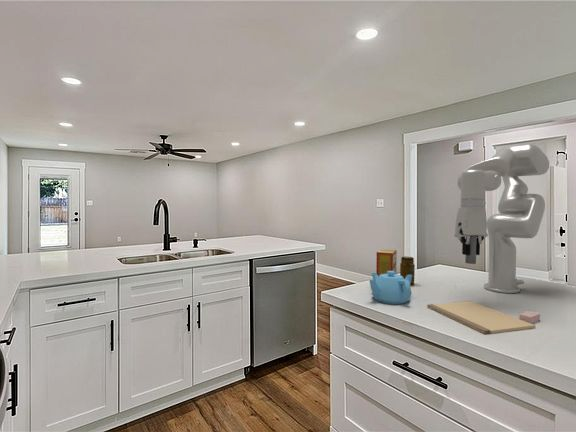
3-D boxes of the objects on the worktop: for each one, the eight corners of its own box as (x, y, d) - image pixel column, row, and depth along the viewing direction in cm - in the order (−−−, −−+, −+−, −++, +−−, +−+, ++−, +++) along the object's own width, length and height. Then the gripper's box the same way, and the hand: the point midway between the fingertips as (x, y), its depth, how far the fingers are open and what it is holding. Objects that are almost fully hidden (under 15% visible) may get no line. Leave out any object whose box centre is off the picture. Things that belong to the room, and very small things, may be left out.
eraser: (528, 318, 103) (528, 310, 103) (539, 321, 101) (540, 313, 101) (519, 321, 100) (519, 314, 100) (530, 325, 98) (530, 317, 98)
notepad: (470, 303, 118) (470, 300, 118) (535, 327, 95) (535, 324, 95) (427, 307, 114) (427, 304, 114) (484, 334, 90) (484, 330, 90)
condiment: (409, 281, 151) (409, 255, 150) (421, 286, 143) (421, 258, 142) (395, 282, 149) (395, 256, 149) (406, 287, 141) (406, 259, 140)
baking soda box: (392, 290, 135) (392, 252, 135) (376, 288, 138) (376, 251, 138) (396, 285, 144) (396, 249, 143) (381, 283, 147) (381, 248, 146)
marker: (470, 262, 121) (471, 229, 121) (478, 263, 118) (479, 230, 117) (462, 262, 120) (463, 230, 120) (470, 264, 117) (471, 230, 117)
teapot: (367, 303, 119) (367, 274, 119) (371, 292, 133) (372, 266, 133) (411, 307, 114) (412, 277, 113) (411, 296, 128) (412, 268, 127)
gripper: (482, 204, 124) (481, 252, 125) (445, 204, 120) (444, 253, 121) (499, 204, 117) (498, 255, 117) (460, 204, 113) (459, 256, 113)
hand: (470, 254), depth 119 cm, fingers closed on marker, 3 cm apart
